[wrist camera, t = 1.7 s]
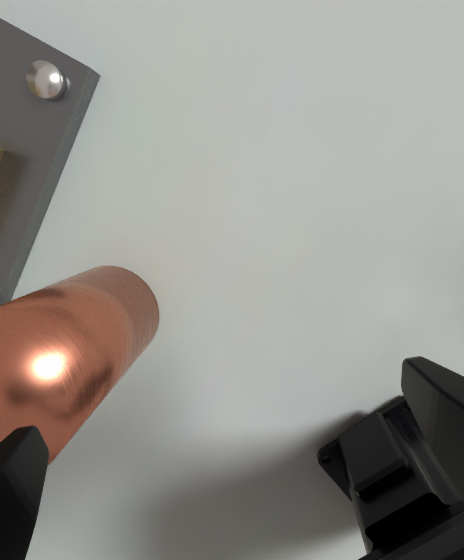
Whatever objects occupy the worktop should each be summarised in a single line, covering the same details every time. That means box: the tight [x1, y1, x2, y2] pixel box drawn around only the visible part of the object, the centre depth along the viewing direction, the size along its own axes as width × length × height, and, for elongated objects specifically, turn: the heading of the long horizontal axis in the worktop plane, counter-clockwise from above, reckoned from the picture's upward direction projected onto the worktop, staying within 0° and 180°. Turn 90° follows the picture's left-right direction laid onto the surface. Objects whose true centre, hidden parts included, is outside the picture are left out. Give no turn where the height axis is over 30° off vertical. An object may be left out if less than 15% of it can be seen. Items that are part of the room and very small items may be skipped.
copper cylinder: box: [0, 266, 159, 465], centre depth 17 cm, size 8×6×10 cm
